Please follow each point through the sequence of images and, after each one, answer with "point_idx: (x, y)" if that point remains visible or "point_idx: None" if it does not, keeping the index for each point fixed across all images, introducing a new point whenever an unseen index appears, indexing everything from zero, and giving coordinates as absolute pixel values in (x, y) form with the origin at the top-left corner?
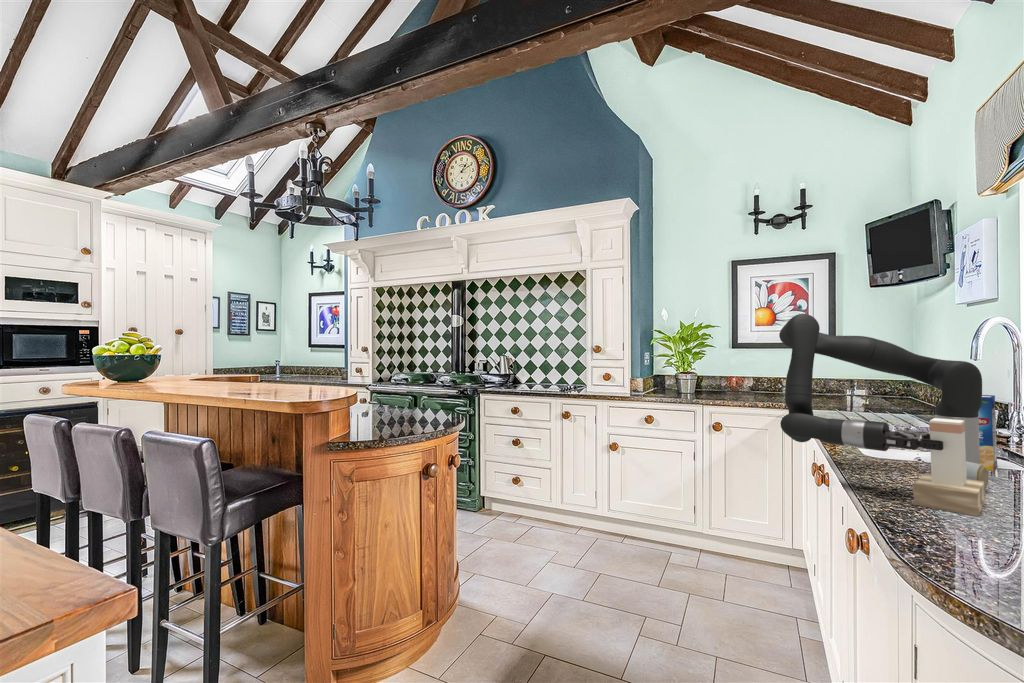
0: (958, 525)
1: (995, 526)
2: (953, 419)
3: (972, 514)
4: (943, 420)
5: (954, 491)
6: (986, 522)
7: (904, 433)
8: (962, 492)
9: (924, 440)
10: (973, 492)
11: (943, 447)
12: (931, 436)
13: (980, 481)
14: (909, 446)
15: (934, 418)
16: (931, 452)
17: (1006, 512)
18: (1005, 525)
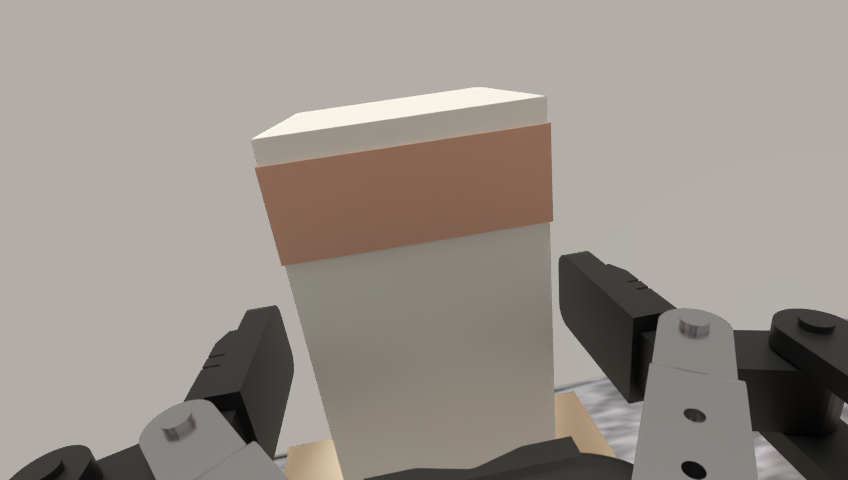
0: (776, 459)
1: (631, 406)
2: (285, 120)
3: None
4: (420, 104)
5: (612, 456)
6: (617, 430)
7: (681, 472)
8: (595, 431)
9: (654, 311)
10: (562, 403)
11: (560, 297)
12: (546, 273)
13: (302, 455)
14: (820, 450)
15: (303, 130)
16: (553, 410)
17: None
18: (587, 398)
